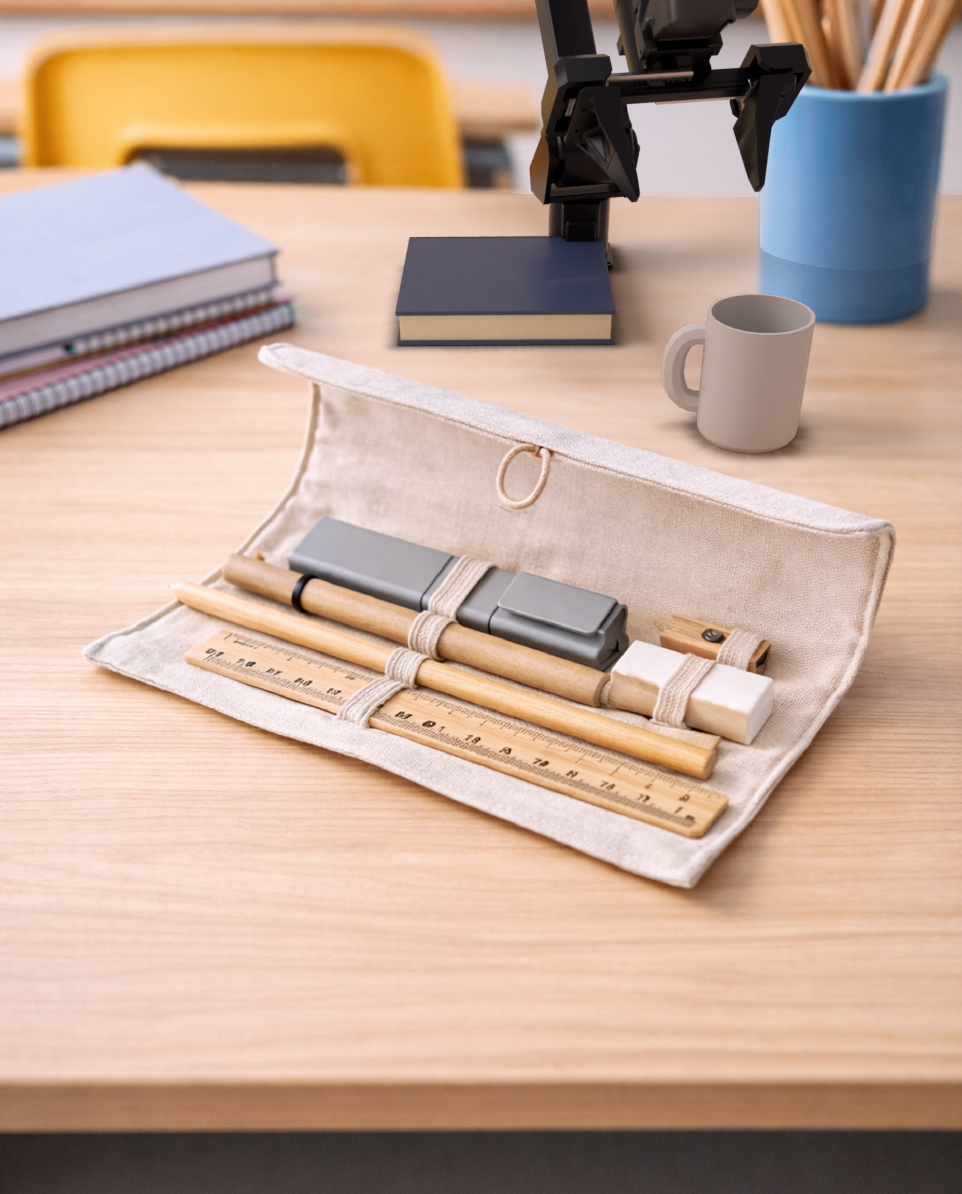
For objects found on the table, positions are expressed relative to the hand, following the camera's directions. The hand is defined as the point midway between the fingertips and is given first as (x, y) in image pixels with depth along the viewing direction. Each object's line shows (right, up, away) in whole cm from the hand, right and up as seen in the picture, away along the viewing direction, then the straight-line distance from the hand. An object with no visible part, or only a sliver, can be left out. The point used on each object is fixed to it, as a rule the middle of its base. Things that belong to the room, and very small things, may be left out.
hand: (698, 193), depth 84 cm
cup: (+2, -16, +3) cm, 17 cm away
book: (-13, -2, +22) cm, 26 cm away
